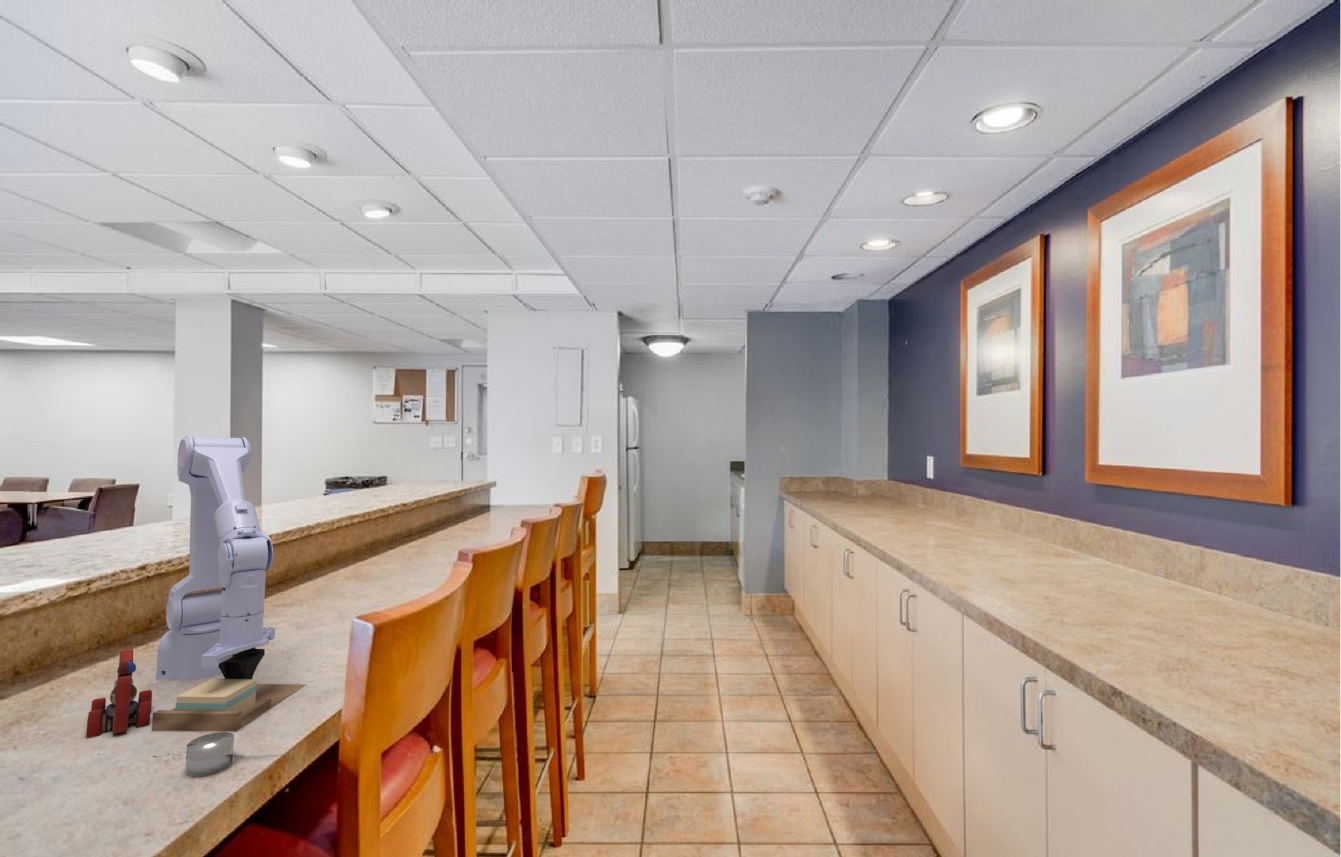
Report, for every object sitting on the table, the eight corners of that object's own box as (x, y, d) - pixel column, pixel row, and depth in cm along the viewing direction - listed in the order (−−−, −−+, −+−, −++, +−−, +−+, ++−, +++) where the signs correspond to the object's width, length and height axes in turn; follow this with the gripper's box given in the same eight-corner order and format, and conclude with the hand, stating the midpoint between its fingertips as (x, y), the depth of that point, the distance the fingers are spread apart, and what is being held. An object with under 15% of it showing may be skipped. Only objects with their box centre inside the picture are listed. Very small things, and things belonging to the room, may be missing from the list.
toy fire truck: (83, 751, 83) (88, 674, 84) (91, 720, 93) (95, 651, 93) (149, 737, 88) (154, 664, 88) (151, 708, 97) (155, 643, 98)
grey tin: (175, 777, 77) (176, 749, 78) (204, 758, 82) (205, 732, 83) (215, 778, 78) (216, 750, 78) (241, 758, 83) (242, 732, 83)
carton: (174, 727, 89) (176, 696, 89) (209, 707, 96) (211, 678, 96) (223, 728, 89) (225, 697, 89) (255, 708, 96) (257, 679, 96)
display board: (151, 737, 88) (152, 712, 88) (236, 689, 106) (237, 669, 106) (235, 738, 88) (237, 713, 88) (306, 690, 106) (307, 669, 106)
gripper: (237, 625, 91) (232, 718, 90) (294, 602, 105) (290, 681, 105) (188, 625, 90) (183, 717, 90) (252, 601, 105) (248, 681, 104)
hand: (238, 698), depth 97 cm, fingers closed
